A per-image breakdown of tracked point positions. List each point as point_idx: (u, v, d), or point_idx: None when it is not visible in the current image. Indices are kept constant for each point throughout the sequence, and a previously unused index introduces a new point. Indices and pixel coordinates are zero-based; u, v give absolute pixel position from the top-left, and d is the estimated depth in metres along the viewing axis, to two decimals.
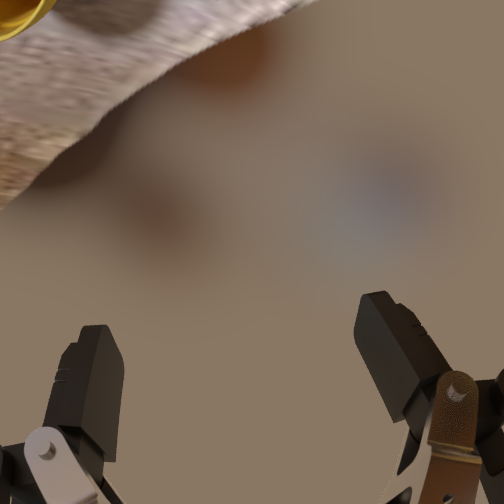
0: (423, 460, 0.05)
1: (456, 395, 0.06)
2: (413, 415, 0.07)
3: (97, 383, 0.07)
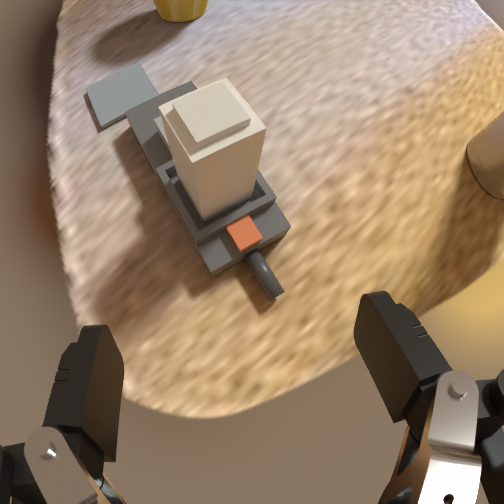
0: (423, 460, 0.05)
1: (456, 395, 0.06)
2: (413, 415, 0.07)
3: (97, 383, 0.07)
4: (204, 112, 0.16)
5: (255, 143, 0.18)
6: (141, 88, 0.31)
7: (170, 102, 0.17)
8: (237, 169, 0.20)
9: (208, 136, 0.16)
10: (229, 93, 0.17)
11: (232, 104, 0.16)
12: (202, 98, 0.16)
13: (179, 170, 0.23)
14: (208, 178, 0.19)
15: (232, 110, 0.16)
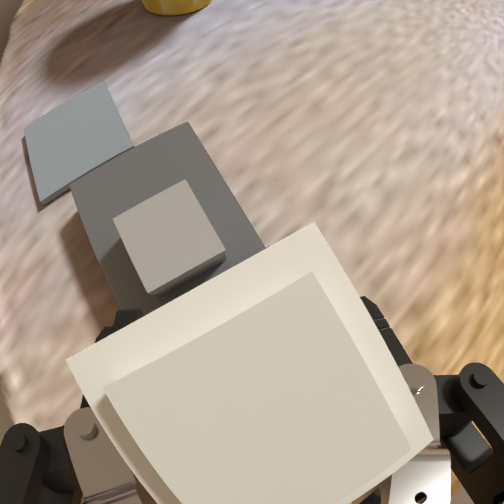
0: None
1: (410, 388, 0.06)
2: None
3: None
4: (246, 453, 0.04)
5: None
6: (104, 130, 0.18)
7: (103, 346, 0.04)
8: None
9: None
10: (345, 345, 0.04)
11: (356, 403, 0.04)
12: (231, 378, 0.04)
13: None
14: None
15: (355, 432, 0.04)
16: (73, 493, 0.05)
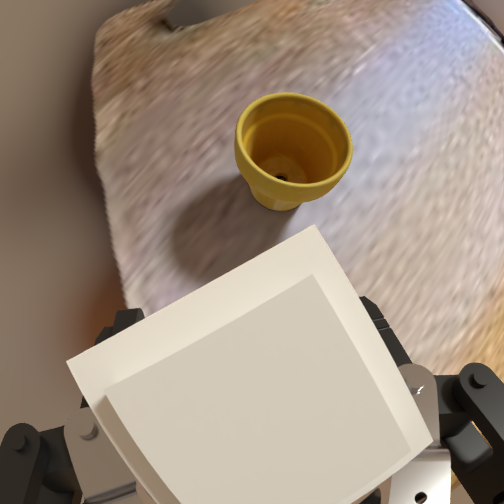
0: None
1: (410, 388, 0.06)
2: None
3: None
4: (247, 454, 0.04)
5: None
6: None
7: (104, 349, 0.04)
8: None
9: None
10: (345, 348, 0.04)
11: (356, 405, 0.04)
12: (231, 381, 0.04)
13: None
14: None
15: (355, 434, 0.04)
16: (73, 493, 0.05)
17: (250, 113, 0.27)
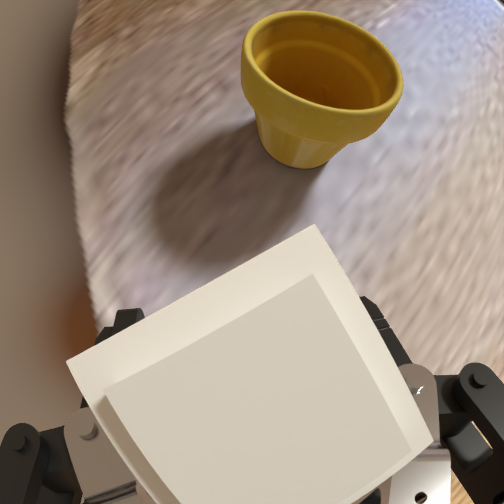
0: None
1: (410, 388, 0.06)
2: None
3: None
4: (247, 454, 0.04)
5: None
6: None
7: (104, 349, 0.04)
8: None
9: None
10: (345, 348, 0.04)
11: (356, 405, 0.04)
12: (232, 381, 0.04)
13: None
14: None
15: (355, 434, 0.04)
16: (73, 493, 0.05)
17: (262, 30, 0.17)
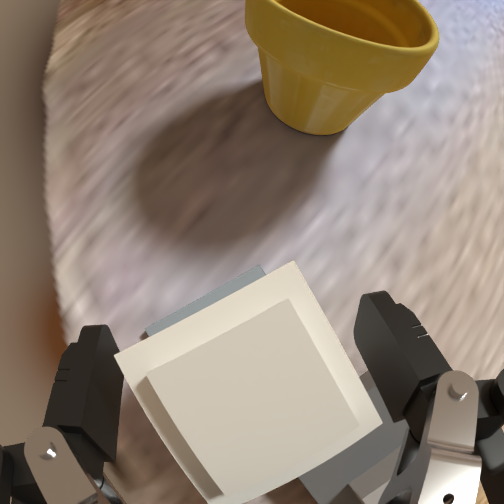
0: (423, 460, 0.05)
1: (456, 395, 0.06)
2: (413, 415, 0.07)
3: (97, 383, 0.07)
4: (242, 418, 0.06)
5: None
6: None
7: (143, 346, 0.06)
8: None
9: (254, 482, 0.05)
10: (309, 348, 0.06)
11: (317, 387, 0.06)
12: (233, 367, 0.06)
13: None
14: None
15: (316, 408, 0.06)
16: (43, 503, 0.05)
17: None
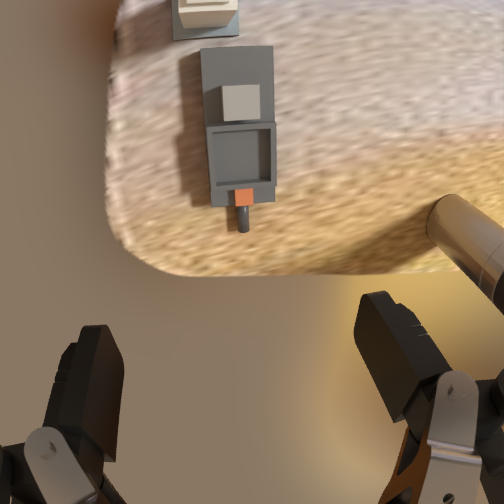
0: (423, 460, 0.05)
1: (456, 395, 0.06)
2: (413, 415, 0.07)
3: (97, 384, 0.07)
4: None
5: (228, 12, 0.20)
6: None
7: None
8: (213, 17, 0.22)
9: (196, 2, 0.18)
10: None
11: None
12: None
13: None
14: (190, 17, 0.21)
15: None
16: (43, 503, 0.05)
17: None
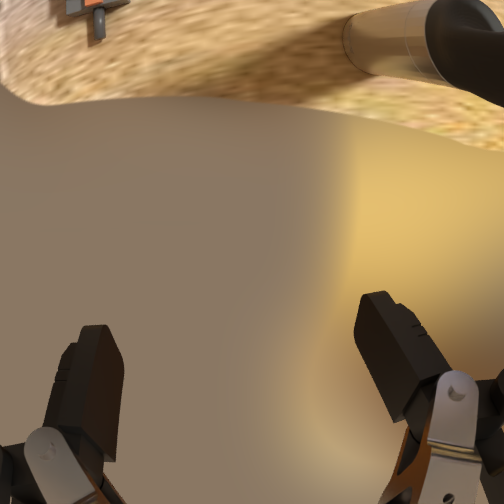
0: (423, 460, 0.05)
1: (456, 395, 0.06)
2: (413, 415, 0.07)
3: (97, 383, 0.07)
4: None
5: None
6: None
7: None
8: None
9: None
10: None
11: None
12: None
13: None
14: None
15: None
16: (43, 503, 0.05)
17: None
